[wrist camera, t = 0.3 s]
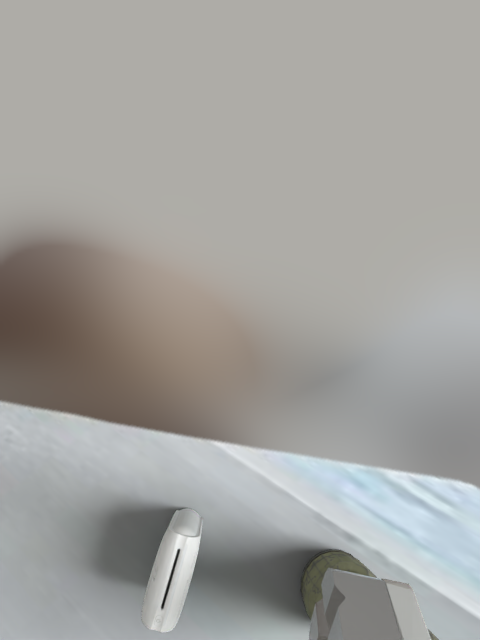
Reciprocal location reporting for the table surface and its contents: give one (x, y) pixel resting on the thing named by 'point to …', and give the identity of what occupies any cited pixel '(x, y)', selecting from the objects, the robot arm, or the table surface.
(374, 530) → the table surface
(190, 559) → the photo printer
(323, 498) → the table surface
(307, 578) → the thermos
